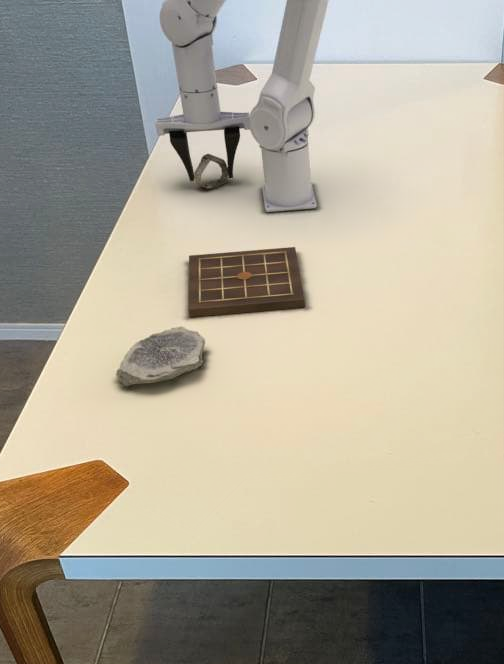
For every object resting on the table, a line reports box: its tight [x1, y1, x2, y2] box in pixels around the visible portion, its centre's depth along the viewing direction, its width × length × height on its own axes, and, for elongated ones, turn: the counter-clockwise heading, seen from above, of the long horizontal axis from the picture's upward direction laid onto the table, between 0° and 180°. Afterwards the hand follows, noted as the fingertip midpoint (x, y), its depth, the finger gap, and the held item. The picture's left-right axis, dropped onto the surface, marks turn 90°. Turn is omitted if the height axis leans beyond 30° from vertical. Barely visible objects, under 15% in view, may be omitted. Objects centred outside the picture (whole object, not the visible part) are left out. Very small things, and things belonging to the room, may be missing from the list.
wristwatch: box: [194, 153, 229, 190], centre depth 139 cm, size 4×6×5 cm, turn 139°
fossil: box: [115, 326, 206, 387], centre depth 101 cm, size 11×4×10 cm
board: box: [187, 246, 306, 318], centre depth 116 cm, size 15×15×1 cm
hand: (211, 177), depth 139 cm, fingers open, 6 cm apart
